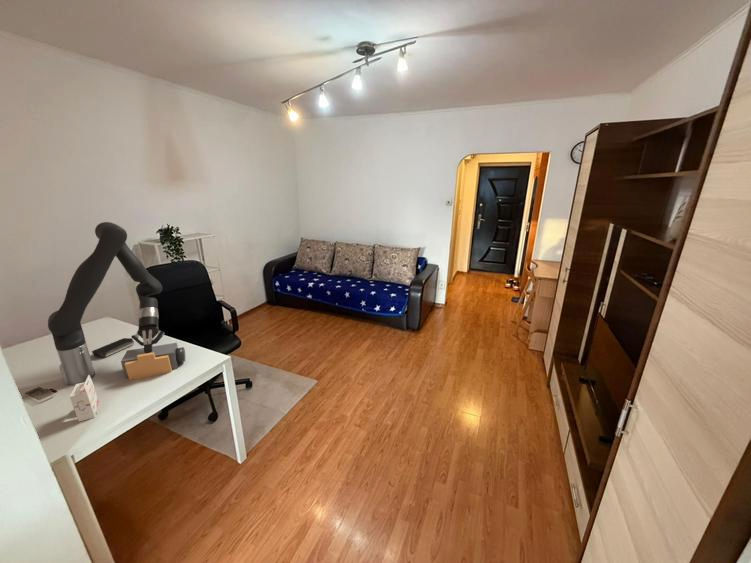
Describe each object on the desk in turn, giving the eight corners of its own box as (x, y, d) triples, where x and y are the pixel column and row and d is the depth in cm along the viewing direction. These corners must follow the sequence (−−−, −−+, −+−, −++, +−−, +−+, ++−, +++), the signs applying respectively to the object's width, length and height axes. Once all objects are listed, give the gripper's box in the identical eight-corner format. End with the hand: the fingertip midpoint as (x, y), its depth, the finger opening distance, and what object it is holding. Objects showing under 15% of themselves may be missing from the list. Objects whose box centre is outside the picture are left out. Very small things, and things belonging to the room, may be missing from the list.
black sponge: (103, 360, 149) (101, 353, 148) (91, 356, 151) (90, 350, 150) (136, 345, 164) (135, 339, 163) (126, 342, 166) (124, 336, 165)
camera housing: (125, 380, 135) (120, 361, 131) (131, 368, 143) (127, 350, 140) (184, 369, 144) (181, 351, 141) (186, 358, 153) (183, 341, 150)
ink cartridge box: (83, 408, 117) (73, 377, 113) (99, 404, 120) (90, 373, 115) (77, 422, 111) (66, 390, 106) (95, 417, 113) (85, 385, 109)
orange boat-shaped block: (129, 380, 133) (122, 359, 128) (130, 377, 135) (123, 357, 130) (171, 371, 140) (166, 352, 135) (172, 369, 141) (167, 350, 136)
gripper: (128, 317, 137) (127, 353, 130) (163, 313, 142) (163, 348, 136) (134, 323, 143) (132, 358, 136) (166, 319, 148) (167, 352, 142)
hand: (148, 353), depth 136 cm, fingers closed
